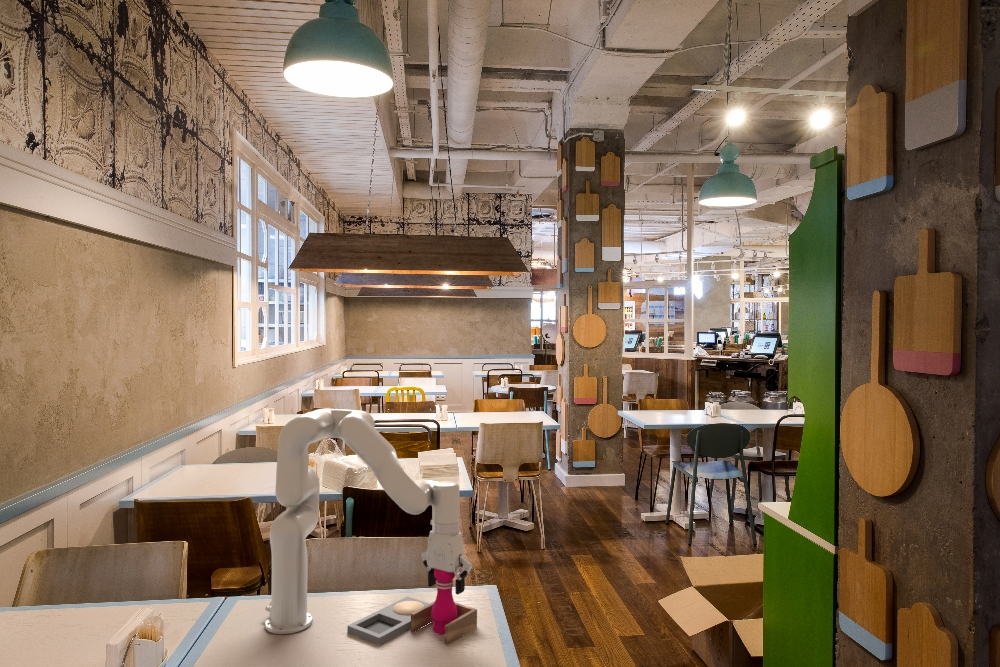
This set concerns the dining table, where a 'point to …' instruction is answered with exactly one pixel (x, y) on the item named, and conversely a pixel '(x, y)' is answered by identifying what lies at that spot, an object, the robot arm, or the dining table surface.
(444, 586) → the pepper mill
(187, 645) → the dining table surface
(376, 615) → the gray portable music player
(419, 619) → the wooden u-shaped frame
